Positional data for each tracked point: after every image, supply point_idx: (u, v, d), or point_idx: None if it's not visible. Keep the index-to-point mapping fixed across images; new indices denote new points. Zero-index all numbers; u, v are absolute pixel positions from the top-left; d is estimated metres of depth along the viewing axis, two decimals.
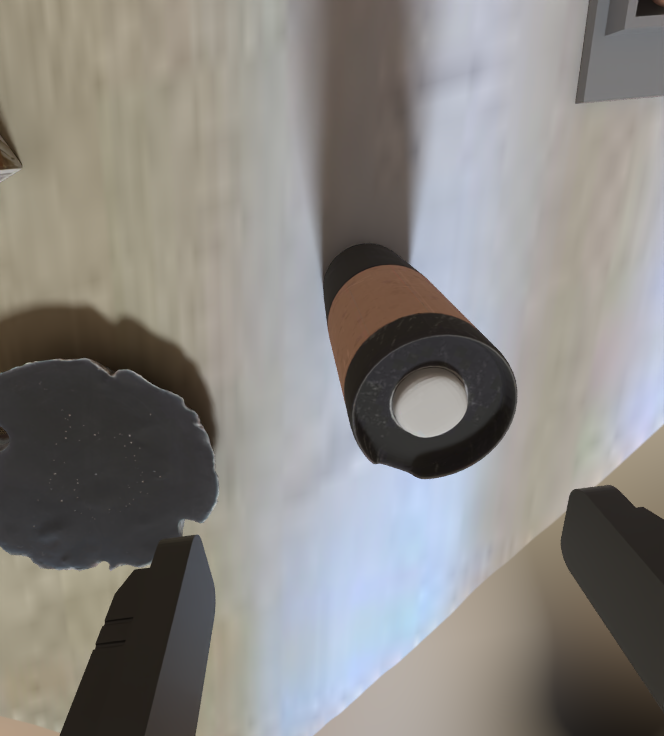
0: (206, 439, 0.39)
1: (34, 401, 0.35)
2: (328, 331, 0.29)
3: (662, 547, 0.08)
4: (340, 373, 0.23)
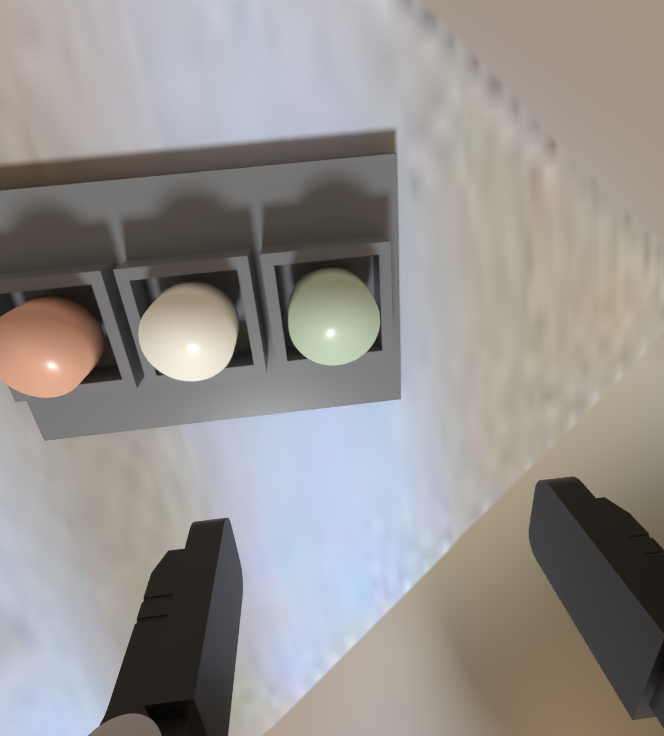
0: None
1: None
2: None
3: (616, 534, 0.08)
4: None
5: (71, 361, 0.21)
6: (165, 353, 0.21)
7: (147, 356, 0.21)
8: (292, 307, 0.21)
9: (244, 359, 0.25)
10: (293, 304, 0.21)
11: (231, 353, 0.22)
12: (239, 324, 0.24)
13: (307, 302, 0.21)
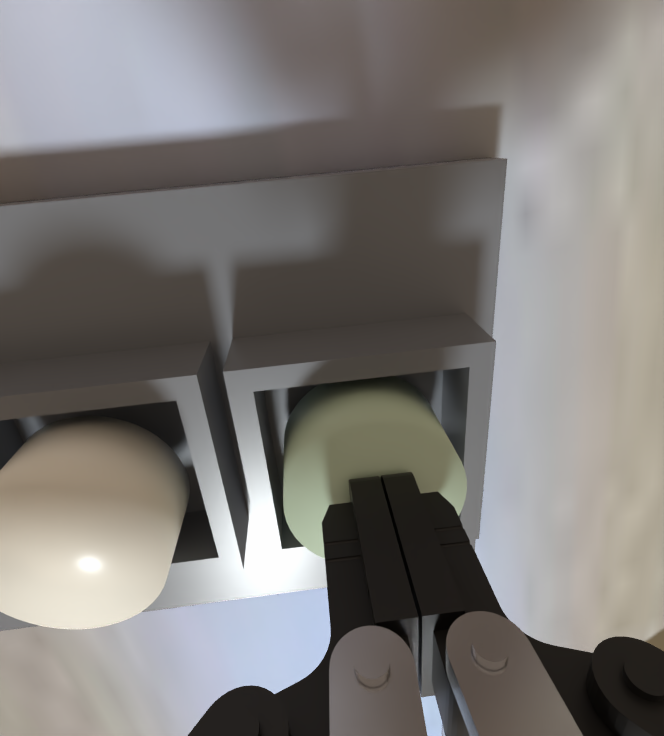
0: None
1: None
2: None
3: (422, 525, 0.09)
4: None
5: None
6: (18, 587, 0.10)
7: None
8: (291, 475, 0.10)
9: (203, 535, 0.14)
10: (293, 470, 0.10)
11: (163, 580, 0.10)
12: (189, 489, 0.12)
13: (321, 467, 0.10)
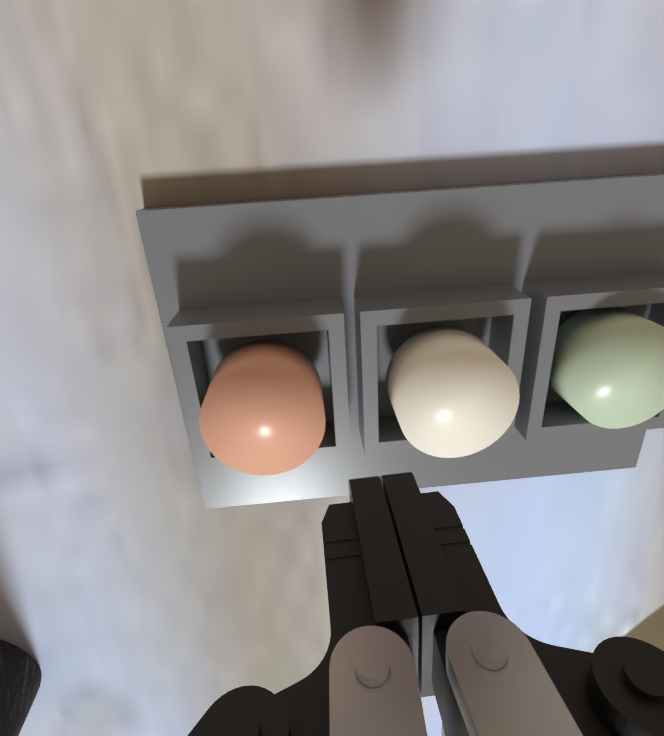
0: None
1: None
2: None
3: (423, 525, 0.09)
4: None
5: (306, 431, 0.16)
6: (426, 423, 0.16)
7: (403, 427, 0.16)
8: (588, 359, 0.17)
9: None
10: (590, 355, 0.17)
11: (508, 424, 0.17)
12: None
13: (607, 354, 0.17)
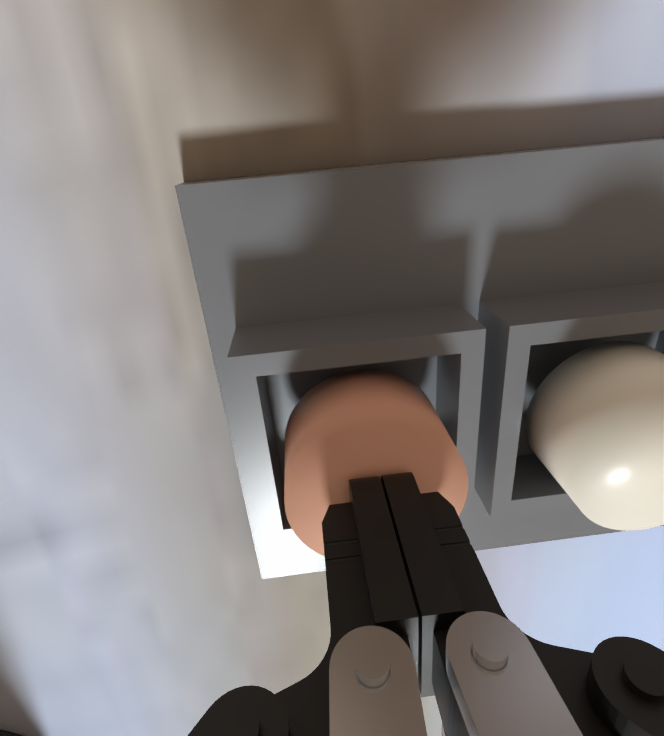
0: None
1: None
2: None
3: (422, 525, 0.09)
4: None
5: None
6: (611, 487, 0.11)
7: (577, 493, 0.11)
8: None
9: None
10: None
11: None
12: None
13: None
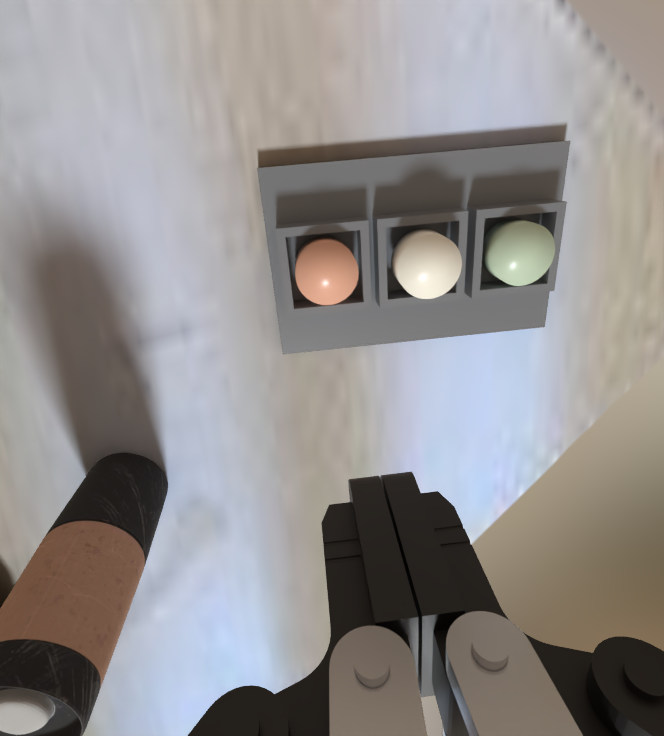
0: None
1: None
2: None
3: (422, 525, 0.09)
4: None
5: (348, 278, 0.32)
6: (413, 277, 0.31)
7: (401, 279, 0.31)
8: (499, 243, 0.31)
9: None
10: (500, 240, 0.31)
11: (457, 278, 0.31)
12: None
13: (509, 239, 0.31)
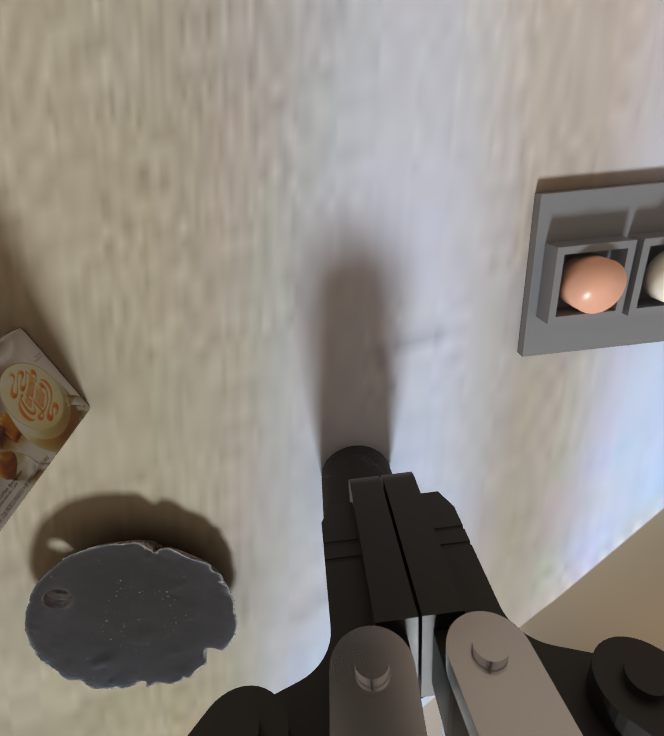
0: (227, 591, 0.48)
1: (93, 572, 0.45)
2: None
3: (422, 525, 0.09)
4: None
5: (616, 290, 0.36)
6: None
7: None
8: None
9: None
10: None
11: None
12: None
13: None
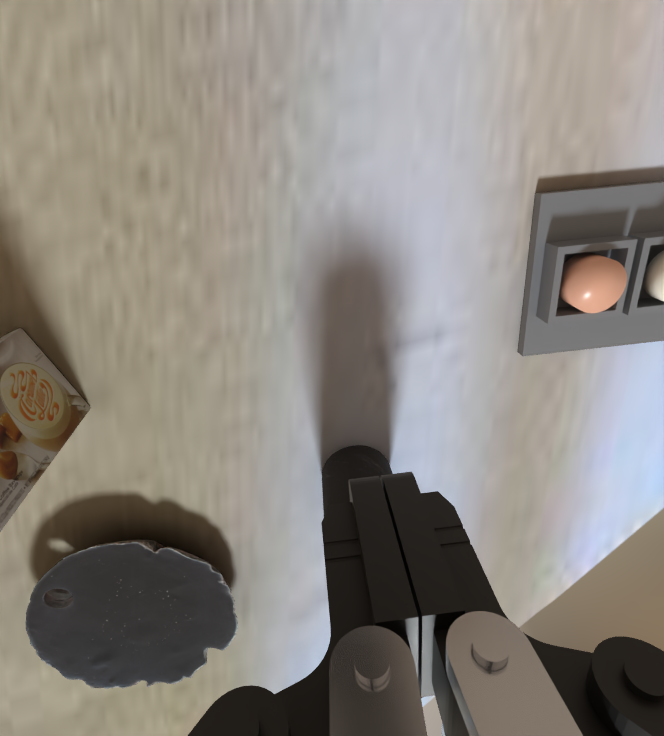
0: (228, 591, 0.48)
1: (94, 572, 0.45)
2: None
3: (422, 525, 0.09)
4: None
5: (616, 290, 0.36)
6: None
7: None
8: None
9: None
10: None
11: None
12: None
13: None
